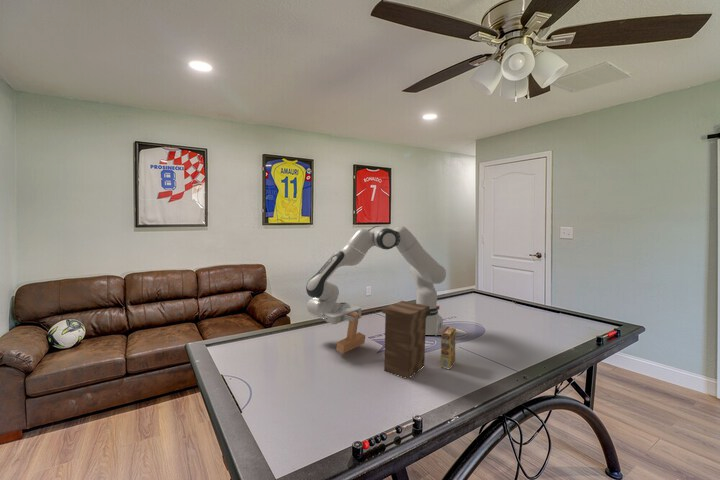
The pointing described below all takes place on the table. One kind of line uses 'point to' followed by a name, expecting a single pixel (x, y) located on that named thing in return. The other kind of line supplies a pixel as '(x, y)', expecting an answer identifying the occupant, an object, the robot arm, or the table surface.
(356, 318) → the t bar
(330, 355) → the table surface
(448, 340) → the candy box
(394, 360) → the stand
